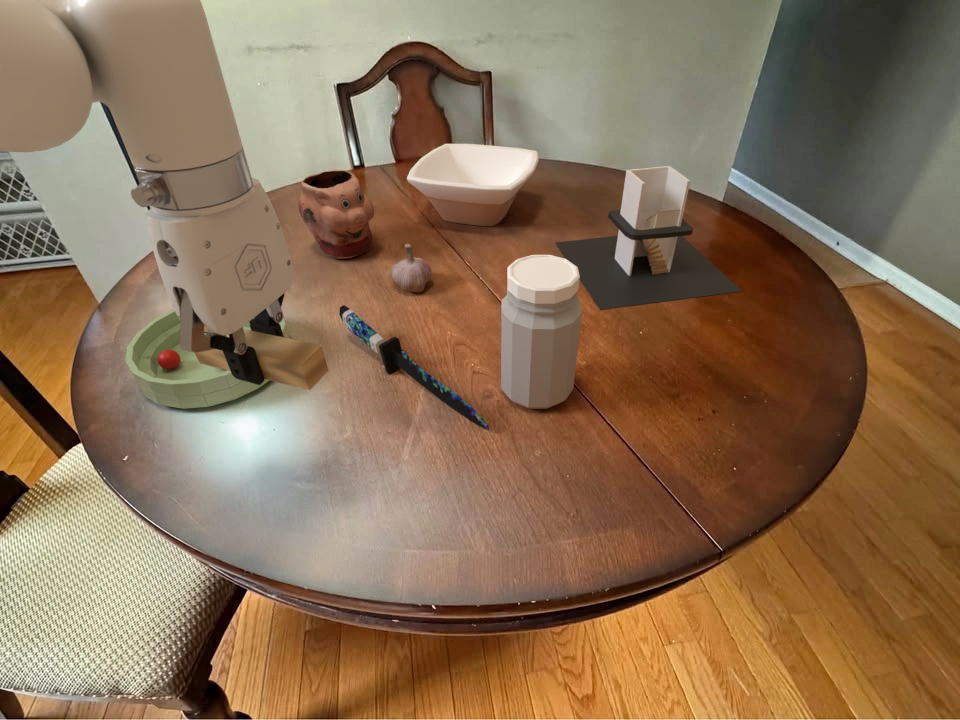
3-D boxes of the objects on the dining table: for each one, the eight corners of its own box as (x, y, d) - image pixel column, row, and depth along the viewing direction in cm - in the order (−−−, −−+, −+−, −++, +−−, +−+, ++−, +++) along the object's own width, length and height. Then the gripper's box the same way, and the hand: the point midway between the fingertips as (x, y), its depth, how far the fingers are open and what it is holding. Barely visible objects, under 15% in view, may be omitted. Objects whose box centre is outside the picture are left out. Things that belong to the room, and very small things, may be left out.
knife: (339, 329, 84) (335, 305, 81) (356, 321, 86) (353, 297, 83) (472, 454, 68) (474, 431, 65) (490, 441, 70) (492, 418, 67)
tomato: (165, 369, 76) (167, 349, 76) (152, 368, 77) (153, 348, 77) (184, 370, 78) (185, 350, 78) (170, 369, 79) (172, 350, 79)
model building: (600, 309, 89) (613, 213, 79) (554, 242, 108) (560, 157, 98) (742, 291, 93) (772, 196, 82) (674, 229, 111) (692, 145, 101)
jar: (588, 389, 74) (604, 270, 63) (539, 425, 69) (547, 303, 58) (533, 356, 80) (539, 242, 69) (484, 388, 75) (482, 270, 64)
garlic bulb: (425, 298, 93) (421, 255, 88) (384, 294, 94) (377, 252, 89) (437, 276, 99) (434, 234, 94) (398, 272, 100) (393, 231, 95)
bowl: (517, 244, 108) (518, 191, 101) (401, 229, 114) (395, 178, 107) (544, 197, 125) (547, 149, 119) (442, 187, 131) (439, 141, 125)
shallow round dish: (137, 431, 70) (120, 401, 67) (144, 342, 85) (130, 315, 82) (303, 386, 76) (294, 357, 73) (282, 310, 91) (274, 284, 88)
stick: (329, 370, 52) (321, 344, 50) (310, 390, 50) (301, 364, 48) (220, 346, 56) (210, 321, 54) (199, 363, 54) (187, 338, 52)
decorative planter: (285, 242, 110) (267, 172, 102) (336, 222, 117) (323, 155, 109) (347, 274, 100) (332, 200, 91) (398, 250, 107) (389, 179, 98)
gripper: (148, 231, 35) (235, 436, 46) (304, 149, 46) (343, 329, 58) (63, 215, 37) (166, 415, 48) (232, 141, 49) (283, 315, 60)
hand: (262, 366), depth 53 cm, fingers closed on stick, 3 cm apart
